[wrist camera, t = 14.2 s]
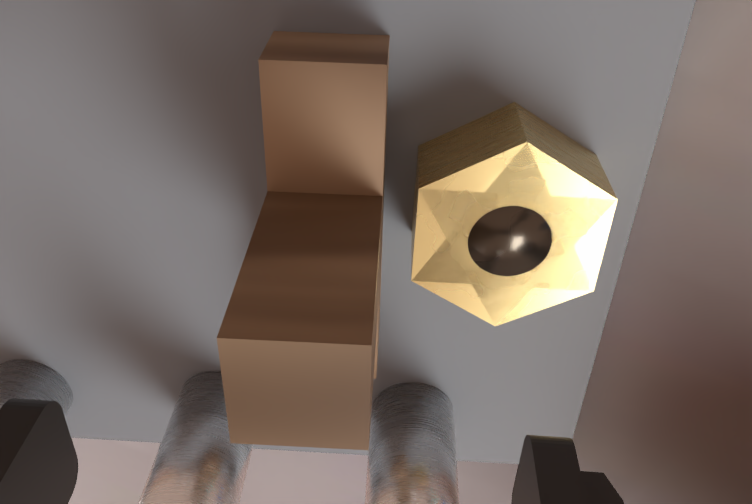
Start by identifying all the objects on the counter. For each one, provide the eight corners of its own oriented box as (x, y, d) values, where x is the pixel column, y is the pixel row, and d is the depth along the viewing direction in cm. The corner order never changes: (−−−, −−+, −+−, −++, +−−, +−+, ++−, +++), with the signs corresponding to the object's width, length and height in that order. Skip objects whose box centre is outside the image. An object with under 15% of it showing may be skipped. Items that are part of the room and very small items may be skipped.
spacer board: (-372, -387, 15) (-418, -396, 14) (771, -338, 15) (793, -345, 14) (-42, 410, 29) (-56, 430, 28) (560, 446, 28) (564, 467, 27)
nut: (421, 96, 19) (422, 136, 17) (607, 106, 19) (631, 147, 17) (408, 270, 23) (407, 321, 20) (567, 279, 22) (583, 332, 20)
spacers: (-271, -327, 15) (-711, -388, 9) (552, -290, 15) (643, -330, 9) (2, 415, 27) (-111, 591, 21) (449, 442, 27) (459, 627, 21)
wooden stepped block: (273, 31, 18) (195, 177, 12) (389, 35, 18) (376, 185, 12) (290, 328, 24) (243, 540, 17) (379, 332, 24) (366, 547, 17)
